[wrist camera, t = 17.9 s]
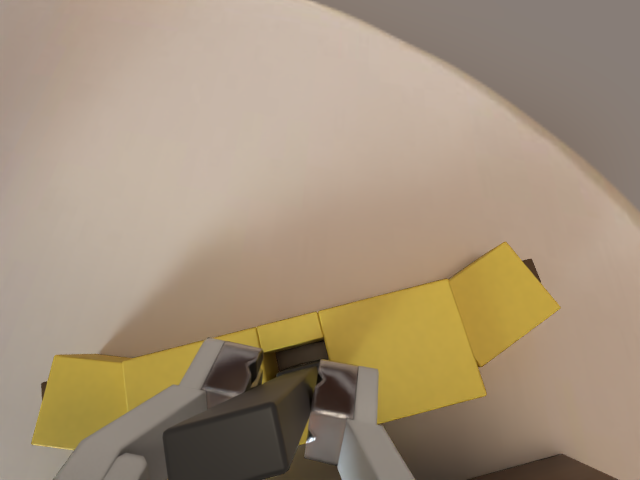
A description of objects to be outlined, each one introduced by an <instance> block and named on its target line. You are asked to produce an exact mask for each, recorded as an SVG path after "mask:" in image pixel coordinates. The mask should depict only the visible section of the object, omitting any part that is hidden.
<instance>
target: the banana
mask: <svg viewBox="0 0 640 480" xmlns="http://www.w3.org/2000/svg"><path fill="white" fill-rule="evenodd" d="M560 308H561V307H560V306H559V305H558V303H557V302H556V301H555V300H554V299H553V297H552V296H551V295H550V294H549V293H548V291H547V290H546V289H545V288H544V287H543V285H542V284H541V281H540V278H539V276H538V273H537V271H536V268H535V266H534V263H533V261H532V259H527V260H523V261H522V260H521V259H520V258H519V257H518V255H517V254H516V253H515V252H514V251H513V249H512V248H511V247H510V246H509V245H508V243H507V242H503V243H502V244H500V245H498V246H497V247H495V248H494V249H492V250H491V251H489V252H487V253H486V254H484V255H483V256H481V257H480V258H478V259H477V260H475V261H474V262H473V263H471V264H470V265H468V266H467V267H465V268H464V269H463V270H461V271H460V272H458V273H457V274H456V275H454V276H453V277H451V278H450V279H442V280H438V281H434V282H430V283H426V284H422V285H419V286H415V287H411V288H407V289H403V290H399V291H395V292H391V293H387V294H383V295H379V296H375V297H371V298H367V299H363V300H359V301H355V302H352V303H348V304H344V305H340V306H336V307H332V308H328V309H324V310H320V311H318V313H317V312H312V313H308V314H304V315H300V316H296V317H292V318H288V319H284V320H280V321H276V322H272V323H268V324H264V325H261V326H257V328H256V327H253V328H249V329H245V330H241V331H237V332H233V333H229V334H225V335H221V336H218V337H214V339H219V340H223V341H230V342H234V343H239V344H244V345H248V346H253V347H258V348H262V349H263V361H262V364H261V369H262V370H263V379H262V384H263V383H265V382H267V381H269V380H272V379H274V378H276V377H277V376H276V375H277V373H278V372H279V368H278V363H277V359H276V354H275V352H279V351H283V350H287V349H291V348H295V347H299V346H303V345H306V344H310V343H314V342H318V341H322V340H324V341H325V345H326V350H327V354H328V358H329V360H330V361H336V362H342V363H347V364H353V365H358V366H364V367H369V368H375V369H378V372H379V378H378V408H377V425H378V424H381V423H385V422H389V421H393V420H397V419H400V418H404V417H408V416H412V415H416V414H419V413H423V412H427V411H431V410H435V409H438V408H442V407H446V406H450V405H454V404H457V403H461V402H465V401H469V400H473V399H476V398H480V397H484V396H486V395H487V392H486V389H485V387H484V384H483V381H482V378H481V375H480V372H479V369H478V367H482V366H484V365H485V364H486V363H488V362H489V361H490V360H492V359H493V358H495V357H496V356H497V355H499V354H500V353H501V352H503V351H504V350H505V349H507V348H508V347H509V346H511V345H512V344H513V343H515V342H516V341H517V340H519V339H520V338H521V337H523V336H524V335H525V334H527V333H528V332H529V331H531V330H532V329H533V328H535V327H536V326H538V325H539V324H540V323H542V322H543V321H544V320H546V319H547V318H548V317H550V316H551V315H552V314H554V313H555V312H556V311H558V310H559V309H560ZM204 341H205V340H202V341H198V342H194V343H190V344H186V345H182V346H178V347H174V348H170V349H166V350H162V351H158V352H154V353H151V354H147V355H143V356H139V357H135V358H127V357H118V356H109V355H101V354H72V355H55V356H54V359H53V363H52V366H51V370H50V374H49V378H48V381H47V382H43V383H41V388H42V404H41V408H40V412H39V416H38V419H37V423H36V427H35V431H34V434H33V438H32V442H31V444H32V445H37V446H45V447H53V448H60V449H68V450H75V449H76V447H77V446H78V444H79V443H80V442H81V441H82V440H83V439H85V438H87V437H88V436H90V435H91V434H93V433H95V432H96V431H98V430H100V429H101V428H103V427H104V426H106V425H108V424H109V423H111V422H113V421H114V420H116V419H118V418H119V417H121V416H122V415H124V414H126V413H127V412H129V411H131V410H132V409H134V408H135V407H137V406H139V405H140V404H142V403H144V402H145V401H147V400H148V399H150V398H152V397H153V396H155V395H157V394H158V393H160V392H162V391H163V390H165V389H166V388H168V387H170V386H171V385H173V384H174V385H179V384H180V382H181V380H182V379H183V377H184V375H185V373H186V372H187V370H188V368H189V366H190V365H191V363H192V361H193V359H194V358H195V356H196V354H197V352H198V351H199V349H200V347H201V345H202V344H203V342H204ZM308 423H309V419H308V422H307V424H306V427H305V429H304V432H303V434H302V437H301V439H300V442H299V445H302V444H306V439H307V434H308ZM299 445H298V446H299ZM167 480H168V479H167Z"/></svg>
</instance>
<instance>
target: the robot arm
mask: <svg viewBox="0 0 640 480" xmlns="http://www.w3.org/2000/svg"><path fill="white" fill-rule="evenodd" d="M262 361H263V349H262V348H258V347H253V346H248V345H244V344H239V343H234V342H230V341H223V340H219V339H214V338H209V337H208V338H207V339H206V340H205V341H204V342H203V344H202V345H201V347H200V349H199V351H198V352H197V354H196V356H195V358H194V359H193V361H192V363H191V365H190V366H189V368H188V370H187V372H186V373H185V375H184V377H183V379H182V380H181V382H180V384H179V385H174V384H173V385H171V386H170V387H168V388H166V389H165V390H163V391H162V392H160V393H158V394H157V395H155V396H153V397H152V398H150V399H148V400H147V401H145V402H144V403H142V404H140V405H139V406H137V407H135V408H134V409H132V410H131V411H129V412H127V413H126V414H124V415H122V416H121V417H119V418H118V419H116V420H114V421H113V422H111V423H109V424H108V425H106V426H104V427H103V428H101V429H100V430H98V431H96V432H95V433H93V434H91V435H90V436H88V437H87V438H85V439H83V440H82V441H81V442H80V443H79V444H78V446H77V447H76V449H75V450H74V451H73V453H72V454H71V455H70V457H69V458H68V460H67V461H66V462H65V464H64V465H63V467H62V468H61V469H60V471H59V472H58V473H57V475H56V476H55V478H54V479H53V480H167V479H168V475H167V467H166V460H165V453H164V445H163V438H162V437H163V432H164V431H165V430H166V429H168V428H170V427H172V426H174V425H176V424H178V423H180V422H182V421H184V420H187V419H189V418H191V417H193V416H195V415H197V414H199V413H201V412H204V411H206V410H208V409H210V408H212V407H214V406H216V405H218V404H221V403H223V402H225V401H227V400H229V399H231V398H233V397H235V396H238V395H240V394H242V393H244V392H246V391H248V390H250V389H252V388H255V387H257V386H259V385H261V384H262V379H263V370H262V369H261V364H262ZM378 378H379V372H378V369H375V368H369V367H364V366H358V365H353V364H347V363H342V362H336V361H330V360H324V359H321V361H320V365H319V369H318V375H317V382H316V386H315V389H314V394H313V399H312V404H311V414H310V417H309V423H308V434H307V439H306V447H305V456H304V458H306V459H311V460H315V461H319V462H323V463H327V464H332V465H336V466H338V467H337V468H338V471H339V473H340V476H341V479H342V480H415V478H414V477H413V475H412V473H411V472H410V470H409V468H408V467H407V465H406V463H405V462H404V460H403V459H402V457H401V455H400V454H399V452H398V450H397V449H396V447H395V445H394V444H393V442H392V440H391V439H390V437H389V435H388V434H387V432H386V430H385V429H384V427H383V426H381V425H377V408H378Z"/></svg>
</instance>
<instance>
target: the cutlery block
mask: <svg viewBox="0 0 640 480" xmlns="http://www.w3.org/2000/svg"><path fill="white" fill-rule="evenodd" d="M468 480H618V479H616V478H614V477H612V476H609V475H607V474H605V473H603V472H601V471H599V470H596V469H594V468H592V467H590V466H588V465H586V464H583V463H581V462H579V461H577V460H575V459H573V458H570V457H568V456H566V455H564V454H561V455H557V456H554V457H550V458H546V459H542V460H539V461H535V462H531V463H528V464H524V465H520V466H516V467H513V468H509V469H505V470H502V471H498V472H494V473H490V474H487V475H483V476H479V477H476V478H472V479H468Z"/></svg>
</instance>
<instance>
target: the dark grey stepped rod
mask: <svg viewBox="0 0 640 480" xmlns="http://www.w3.org/2000/svg"><path fill="white" fill-rule="evenodd" d="M324 360H325V359H324ZM320 361H321V359H320V360H316V361H313V362H309V363H305V364H301V365H298V366H294V367H291V368H288V369H286V370H283V371H281V372H278V373H277V375H276V376H277V377H276V378H274V379H272V380H269V381H267V382H265V383H263V384H261V385H259V386H257V387H255V388H252V389H250V390H248V391H246V392H244V393H242V394H240V395H238V396H235V397H233V398H231V399H229V400H227V401H225V402H223V403H221V404H218V405H216V406H214V407H212V408H210V409H208V410H206V411H204V412H201V413H199V414H197V415H195V416H193V417H191V418H189V419H187V420H184V421H182V422H180V423H178V424H176V425H174V426H172V427H170V428H168V429H166V430H165V431H164V432H163V437H162V438H163V445H164V453H165V460H166V467H167V475H168V480H262V479H266V478H270V477H273V476H277V475H281V474H284V473H285V472H287V471H288V470H289V468H290V465H291V462H292V460H293V457H294V455H295V452H296V450H297V447H298V445H299V442H300V439H301V437H302V434H303V432H304V429H305V427H306V424H307V422H308V419H309V417H310V414H311V404H312V399H313V394H314V389H315V386H316V382H317V375H318V369H319V365H320Z"/></svg>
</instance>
